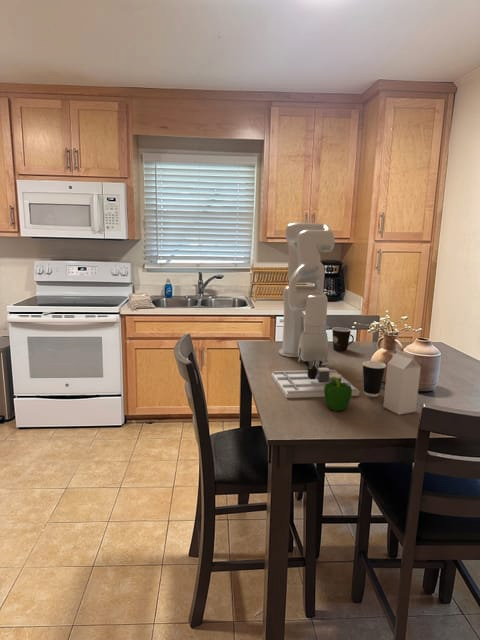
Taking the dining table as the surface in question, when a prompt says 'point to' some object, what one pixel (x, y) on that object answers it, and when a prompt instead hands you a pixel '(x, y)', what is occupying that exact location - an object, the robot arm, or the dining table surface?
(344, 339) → the coffee mug
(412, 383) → the milk carton
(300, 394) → the board
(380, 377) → the dixie cup
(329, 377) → the breaker right
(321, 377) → the block
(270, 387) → the dining table surface
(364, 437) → the dining table surface
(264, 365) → the dining table surface
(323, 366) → the block
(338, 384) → the bell pepper
